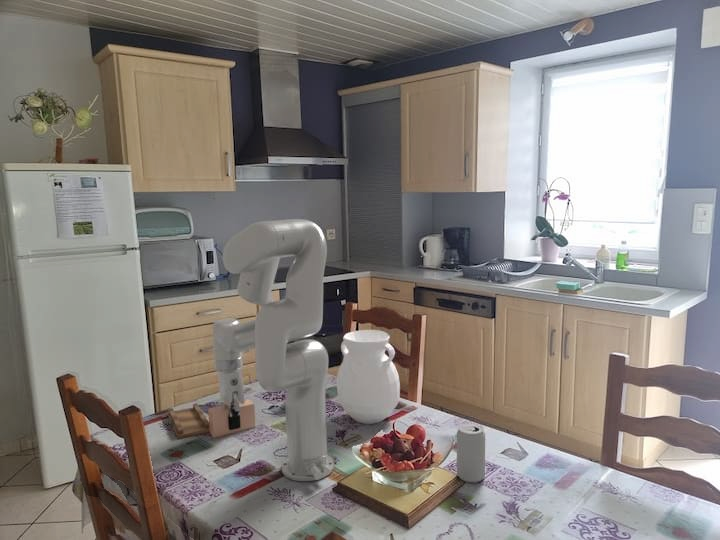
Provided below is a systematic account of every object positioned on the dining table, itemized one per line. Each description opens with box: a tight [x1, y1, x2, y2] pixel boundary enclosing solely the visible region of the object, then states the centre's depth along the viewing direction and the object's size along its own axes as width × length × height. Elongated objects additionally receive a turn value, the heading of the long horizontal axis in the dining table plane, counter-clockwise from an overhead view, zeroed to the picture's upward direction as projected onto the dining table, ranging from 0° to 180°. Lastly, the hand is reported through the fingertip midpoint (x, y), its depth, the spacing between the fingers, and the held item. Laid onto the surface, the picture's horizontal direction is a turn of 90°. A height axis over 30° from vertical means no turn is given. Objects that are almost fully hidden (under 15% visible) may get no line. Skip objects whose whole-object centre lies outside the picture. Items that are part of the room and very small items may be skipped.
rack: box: [167, 403, 210, 440], centre depth 156 cm, size 18×9×2 cm, turn 28°
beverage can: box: [456, 422, 486, 484], centre depth 123 cm, size 6×6×12 cm
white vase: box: [336, 329, 401, 425], centre depth 156 cm, size 19×18×25 cm
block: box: [207, 398, 256, 438], centre depth 151 cm, size 4×12×7 cm, turn 122°
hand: (232, 424), depth 152 cm, fingers closed on block, 4 cm apart
